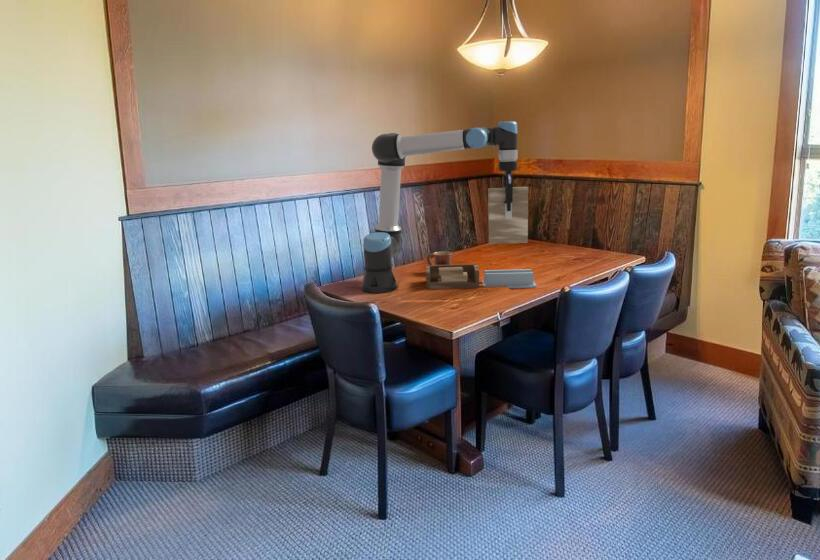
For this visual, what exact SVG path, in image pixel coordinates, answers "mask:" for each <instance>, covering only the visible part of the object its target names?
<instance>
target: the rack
mask: <svg viewBox="0 0 820 560" xmlns="http://www.w3.org/2000/svg"><path fill="white" fill-rule="evenodd" d="M445 267H462V268H463V272H467V275H468V281H467V283H438V279H441V276H439V268H445ZM425 280H426V281H425V283H426V288H425V289H426V290H447V289H450V290H452V289H453V290H454V289H478V288H480V269H479V265H478V263H464V264H463V263H462V264H461V263H460V264H451V265H435V264H433V265H429V264H426V269H425Z"/></svg>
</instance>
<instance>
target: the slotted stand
mask: <svg viewBox="0 0 820 560" xmlns="http://www.w3.org/2000/svg"><path fill="white" fill-rule="evenodd" d="M532 270H533V269H531V268H529V269H528V268H523V269H522V268H521V269H517V268H516V269H488V270H487V269H485V270H483V274H484V275H483V280H481V283H482V286H483V287H484V288H488V287H489V288H490V287H491V288H492V287H493V288H495V287H508V289H537V284H536V282H535V281H534V276H535V274H534V272H533V271H532Z"/></svg>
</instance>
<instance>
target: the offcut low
mask: <svg viewBox="0 0 820 560" xmlns="http://www.w3.org/2000/svg"><path fill="white" fill-rule="evenodd" d="M438 283H467V281H442V282H441V279H438Z"/></svg>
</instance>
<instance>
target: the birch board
mask: <svg viewBox="0 0 820 560" xmlns="http://www.w3.org/2000/svg"><path fill="white" fill-rule="evenodd" d="M487 190H488V191H487V194H488V195H487V196H488V197H487V198H488V199H487V200H488V202H487V203H488V204H487V205H488V207H487V208H488V244H489V245H494V244H495V245H497V244H500V245H501V244H524V243H525V244H527V243H528V242H529V241H528V240H529V237H528V236H529V187H528V186H513V198H512V200H513V202H512V219H505V203H504V202H505V201H506V193H505V188H504V187H489V188H487Z"/></svg>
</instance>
